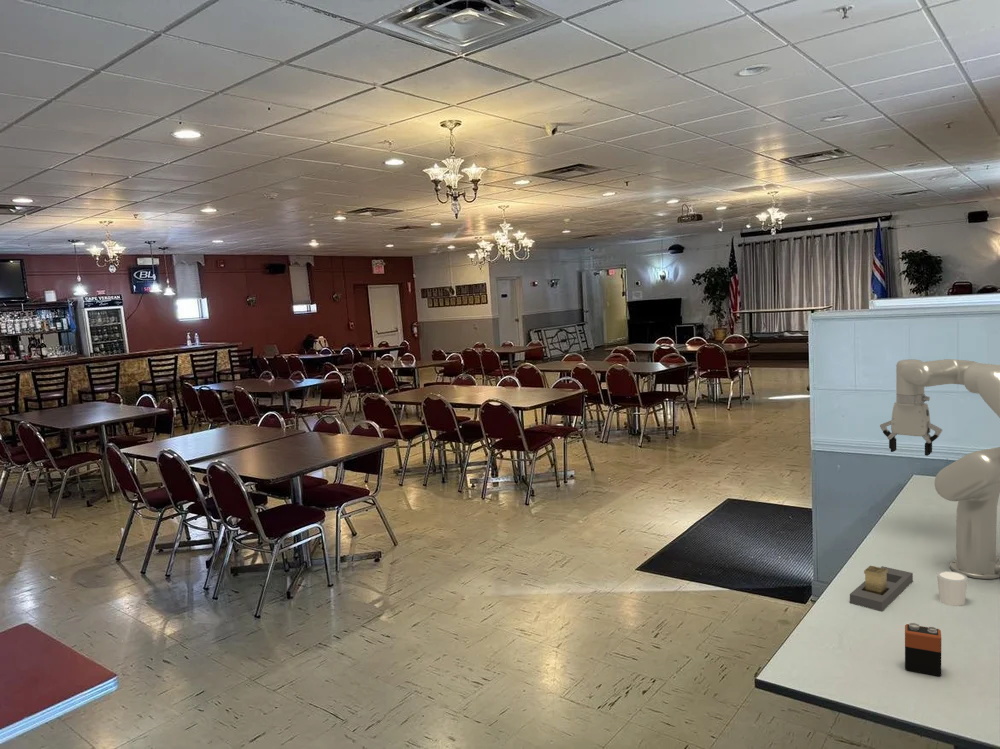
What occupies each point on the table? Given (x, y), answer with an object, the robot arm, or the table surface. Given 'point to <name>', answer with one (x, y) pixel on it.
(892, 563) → the table surface
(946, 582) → the white short cylinder
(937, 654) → the battery
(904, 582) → the rail
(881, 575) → the tan upright block
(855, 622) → the table surface
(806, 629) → the table surface
